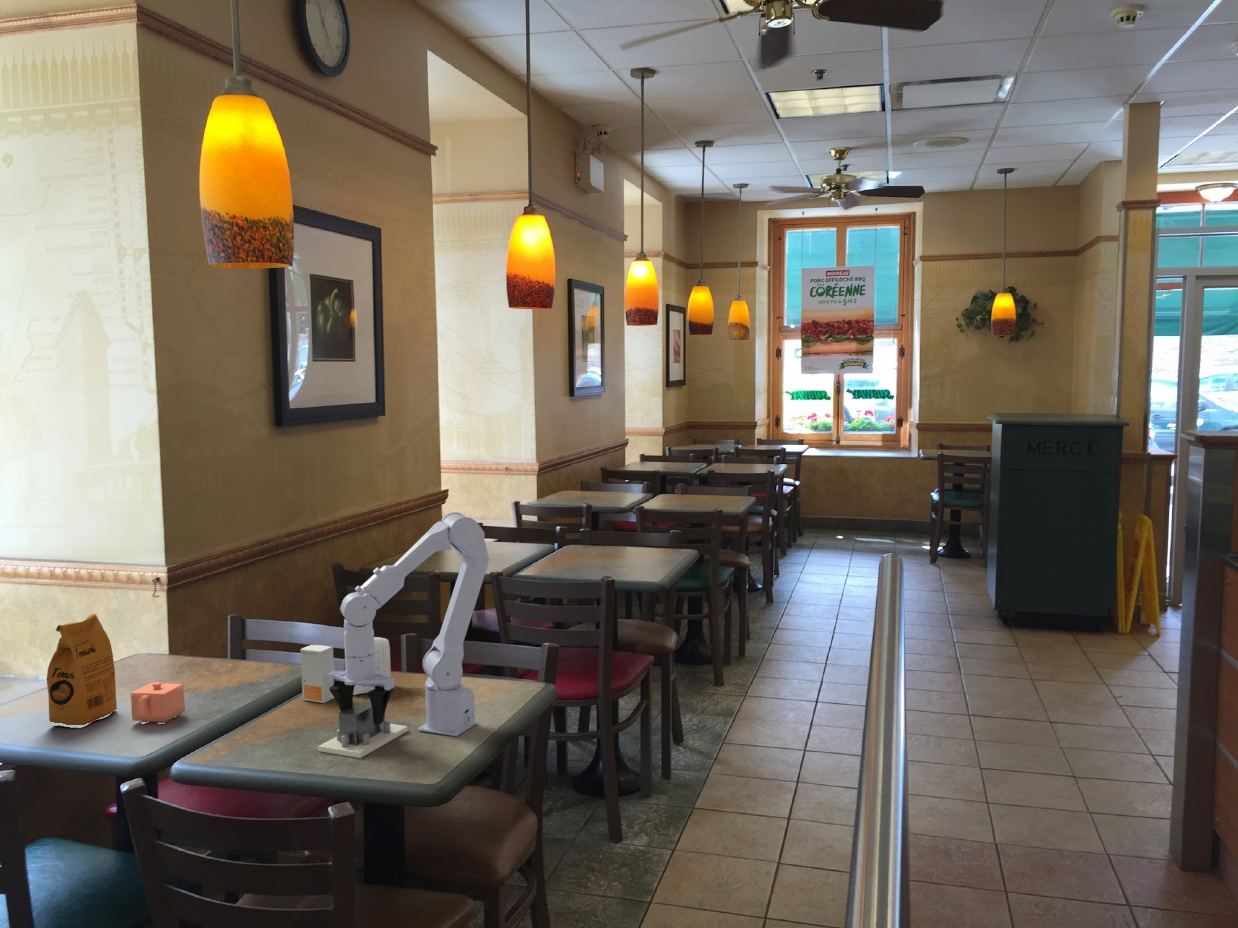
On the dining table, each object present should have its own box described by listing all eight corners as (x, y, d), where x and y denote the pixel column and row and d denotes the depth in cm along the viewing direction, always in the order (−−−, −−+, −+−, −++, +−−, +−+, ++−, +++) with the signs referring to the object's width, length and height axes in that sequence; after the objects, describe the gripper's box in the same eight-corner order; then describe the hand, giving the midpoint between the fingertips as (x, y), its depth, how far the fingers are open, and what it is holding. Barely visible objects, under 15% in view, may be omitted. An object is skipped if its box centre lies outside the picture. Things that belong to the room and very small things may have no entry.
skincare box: (302, 700, 215) (299, 648, 214) (314, 694, 219) (312, 643, 218) (323, 703, 213) (321, 651, 212) (336, 697, 217) (333, 646, 216)
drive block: (385, 729, 194) (384, 700, 193) (356, 745, 185) (355, 715, 185) (369, 727, 195) (368, 698, 195) (340, 742, 187) (338, 712, 186)
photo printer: (387, 683, 226) (385, 632, 225) (394, 688, 223) (392, 636, 222) (344, 692, 221) (342, 640, 220) (350, 697, 217) (348, 644, 216)
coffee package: (41, 728, 202) (33, 626, 200) (86, 708, 214) (79, 611, 212) (81, 731, 200) (73, 627, 198) (124, 710, 212) (117, 613, 210)
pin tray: (407, 730, 195) (406, 716, 195) (360, 758, 182) (359, 742, 181) (367, 724, 199) (367, 710, 199) (318, 751, 186) (317, 735, 185)
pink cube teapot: (194, 710, 211) (192, 673, 210) (159, 730, 199) (157, 691, 199) (162, 709, 212) (160, 672, 212) (125, 728, 201) (123, 690, 200)
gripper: (316, 655, 188) (320, 722, 189) (377, 662, 182) (380, 732, 183) (340, 646, 195) (344, 711, 196) (399, 652, 189) (402, 719, 190)
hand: (363, 720), depth 190 cm, fingers open, 7 cm apart
